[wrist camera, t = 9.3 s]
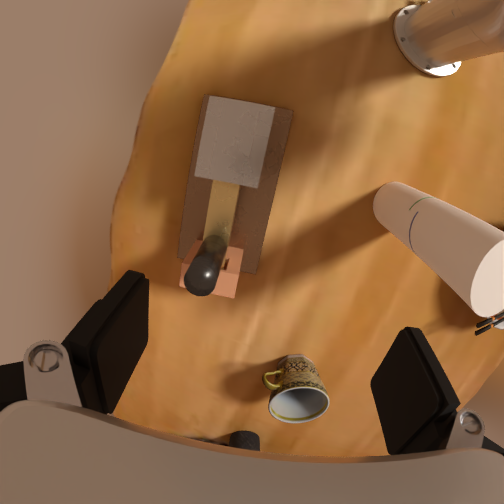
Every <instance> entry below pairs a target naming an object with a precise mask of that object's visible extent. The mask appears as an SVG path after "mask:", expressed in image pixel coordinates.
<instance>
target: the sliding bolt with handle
mask: <svg viewBox="0 0 504 504" xmlns="http://www.w3.org/2000/svg"><path fill="white" fill-rule="evenodd" d="M240 187H241V185H238V184H233V183H228V182H223V181H218V180H213V183H212V189H211V194H210V200H209V206H208V212H207V218H206V224H205V230H204V236H203V243H202V244H201V246H200V248H199V250H198V251H197V253H196V255H195V257H194V259H193V261H192V262H191V264H190V266H189V268H188V270H187V272H186V273H185V275H184V285H185V287H186V289H187V290H188V291H189V292H190V293H192V294H194V295H196V296H206V295H209V294H210V293H212V292H213V290H214V289H215V286H216V283H217V279H218V276H219V273H220V270H224V269H225V263H226V258H227V253H228V247H229V242H230V237H231V232H232V227H233V222H234V217H235V212H236V206H237V202H238V197H239V192H240Z"/></svg>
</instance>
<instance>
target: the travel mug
mask: <svg viewBox="0 0 504 504" xmlns="http://www.w3.org/2000/svg"><path fill="white" fill-rule="evenodd" d="M229 447H234V448H240V449H246V450H253V451H260V440H259V436H258V435H257V434H255V433H253V432H250V431H237V432H234V433H233V434H232V435H231V437H230V442H229Z"/></svg>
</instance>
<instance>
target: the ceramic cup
mask: <svg viewBox="0 0 504 504" xmlns="http://www.w3.org/2000/svg"><path fill="white" fill-rule="evenodd" d="M273 374H276V377H275V381H274V384H271V383H270V382H268V381H267V379H266V375H273ZM262 380H263V383H264V385H265V386H266V387H267V388H268V389H269V390H272V392H271V395H270V399H269V405H268V408H269V412H270V414H271V415H272V416H273V417H274V418H276V419H278V420H280V421H283V422H287V423H303V422H307V421H311V420H313V419H316V418H318V417H319V416H321V415H322V414H323V413H324V412H325V411H326V410H327V408H328V406H329V397H328V394H327V391H326V389H325V387H324V384H323V383H322V381H321V379H320V377H319V374H318V372H317V370H316V368H315V365H314V363H313V361H311V360H310V359H308V358H307V357H306V356H304V355H303V354H298V355H287V356H286V357H285V358H283V359H282V360H281V361H280V362H279V363H278V367H277V371H274V372H267V373H265V374H263V376H262Z"/></svg>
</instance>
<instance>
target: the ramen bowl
mask: <svg viewBox="0 0 504 504" xmlns="http://www.w3.org/2000/svg"><path fill="white" fill-rule="evenodd" d="M488 323H490V325H488V326H486V327H484V328H481V329H479V330H477V331H475V335H476V336H477V335H479V334H481V333H483V332H485V331H487V330H489V329H490V328H492V327H495V328H498V329H501V330H502V329H504V309H503V310H502V311H500V312H499V313H497V314H495V315H493V316H490V317H487V320H484V321H482V322H480V323H477V325H476V327H477V328H479V327H482V326H484V325H486V324H488Z"/></svg>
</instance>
